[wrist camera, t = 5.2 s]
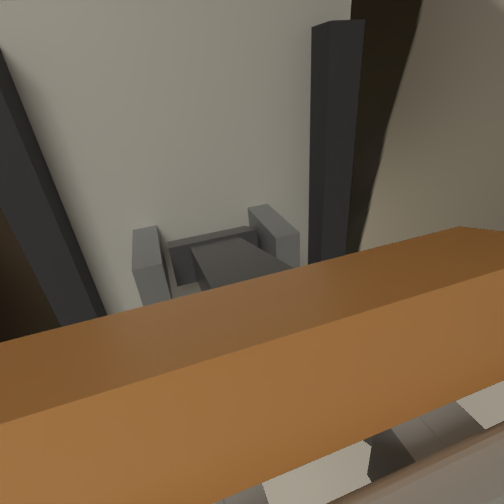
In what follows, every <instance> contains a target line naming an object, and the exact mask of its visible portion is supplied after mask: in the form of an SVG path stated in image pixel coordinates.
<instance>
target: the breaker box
mask: <svg viewBox="0 0 504 504" xmlns="http://www.w3.org/2000/svg"><path fill="white" fill-rule="evenodd" d="M350 15H351V0H0V49H1V52H2V54H3V57H4V59H5V62H6V64H7V67H8V69H9V72H10V74H11V77H12V79H13V82H14V84H15V87H16V89H17V92H18V94H19V97H20V99H21V102H22V104H23V107H24V109H25V111H26V114H27V116H28V119H29V121H30V124H31V126H32V129H33V131H34V134H35V136H36V139H37V141H38V144H39V146H40V149H41V151H42V154H43V156H44V159H45V161H46V164H47V166H48V169H49V171H50V174H51V176H52V179H53V181H54V184H55V186H56V189H57V191H58V194H59V196H60V199H61V201H62V204H63V206H64V209H65V211H66V214H67V216H68V218H69V221H70V223H71V226H72V228H73V231H74V233H75V236H76V238H77V241H78V243H79V246H80V248H81V251H82V253H83V256H84V258H85V261H86V263H87V266H88V268H89V271H90V273H91V276H92V278H93V281H94V283H95V286H96V288H97V291H98V293H99V296H100V298H101V301H102V303H103V306H104V308H105V311H106V313H107V315H111V314H115V313H119V312H123V311H127V310H131V309H135V308H139V307H143V306H147V305H151V304H155V303H159V302H163V301H167V300H171V299H174V298H178V297H182V296H186V295H190V294H194V293H198V292H202V291H201V289H200V286H199V284H198V282H194V283H190V284H186V285H182V286H178V287H177V283H176V279H175V274H174V270H173V266H172V262H171V257H170V253H169V249H168V242H169V241H174V240H179V239H184V238H188V237H193V236H198V235H203V234H208V233H212V232H217V231H222V230H227V229H232V228H236V227H241V226H248V227H251V228H253V229H256V233H257V239H258V246H259V248H260V249H262V250H263V251H265V252H267V253H268V254H270V255H272V256H274V257H275V258H277V259H279V260H281V261H282V262H284V263H286V264H288V265H289V266H291V267H293V268H297V267H301V266H305V265H308V219H309V155H310V91H311V27H313V26H316V25H319V24H322V23H325V22H328V21H332V20H350Z"/></svg>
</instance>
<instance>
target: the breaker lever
mask: <svg viewBox="0 0 504 504" xmlns="http://www.w3.org/2000/svg"><path fill="white" fill-rule="evenodd" d="M168 249H169V253H170V257H171V262H172V266H173V270H174V274H175V279H176V283H177V287H178V286H182V285H186V284H190V283H194V282H198V284H199V286H200V289H201V291H202V292H198V293H194V294H190V295H186V296H182V297H178V298H174V299H171V300H167V301H163V302H159V303H155V304H151V305H147V306H143V307H139V308H135V309H131V310H127V311H123V312H119V313H115V314H111V315H107V316H103V317H99V318H95V319H91V320H88V321H84V322H80V323H76V324H72V325H68V326H64V327H60V328H56V329H52V330H48V331H44V332H40V333H36V334H32V335H28V336H24V337H20V338H16V339H12V340H8V341H5V342H1V343H0V504H213V503H215V502H218V501H220V500H222V499H225V498H227V497H229V496H232V495H234V494H236V493H239V492H241V491H244V490H246V489H248V488H251V487H253V486H255V485H258V484H260V483H262V482H265V481H267V480H269V479H272V478H274V477H276V476H279V475H281V474H284V473H286V472H288V471H291V470H293V469H295V468H298V467H300V466H303V465H305V464H307V463H309V462H312V461H314V460H317V459H319V458H321V457H324V456H326V455H328V454H331V453H333V452H336V451H338V450H340V449H342V448H345V447H347V446H350V445H352V444H355V443H357V442H359V441H362V440H364V439H366V438H369V437H371V436H373V435H376V434H378V433H381V432H383V431H385V430H388V429H390V428H392V427H395V426H397V425H399V424H402V423H404V422H407V421H409V420H411V419H414V418H416V417H418V416H421V415H423V414H425V413H428V412H430V411H432V410H435V409H437V408H440V407H442V406H444V405H447V404H449V403H451V402H454V401H456V400H458V399H461V398H463V397H465V396H468V395H470V394H472V393H475V392H477V391H479V390H482V389H484V388H487V387H489V386H491V385H494V384H496V383H499V382H501V381H503V380H504V232H502V231H494V230H485V229H477V228H468V227H455V228H451V229H447V230H443V231H439V232H436V233H432V234H428V235H423V236H420V237H416V238H412V239H408V240H404V241H400V242H396V243H392V244H388V245H384V246H380V247H376V248H372V249H368V250H364V251H360V252H356V253H352V254H348V255H344V256H340V257H337V258H333V259H329V260H325V261H321V262H317V263H313V264H309V265H305V266H301V267H297V268H293V267H291V266H289V265H288V264H286V263H284V262H282V261H281V260H279V259H277V258H275V257H274V256H272V255H270V254H268V253H267V252H265V251H263V250H262V249H260V248H259V246H258V239H257V233H256V229H253V228H251V227H248V226H241V227H236V228H232V229H227V230H222V231H217V232H212V233H208V234H203V235H198V236H193V237H188V238H184V239H179V240H174V241H169V242H168Z"/></svg>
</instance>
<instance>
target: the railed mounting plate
mask: <svg viewBox="0 0 504 504" xmlns="http://www.w3.org/2000/svg"><path fill="white" fill-rule="evenodd" d="M364 27H365V19H355V20H332V21H328V22H325V23H322V24H319V25H316V26H313V27H311V91H310V155H309V219H308V265H309V264H313V263H317V262H321V261H325V260H329V259H333V258H337V257H340V256H344V255H345V251H346V239H347V227H348V216H349V204H350V192H351V180H352V168H353V157H354V145H355V133H356V121H357V109H358V98H359V86H360V74H361V62H362V50H363V39H364ZM0 208H1V210H2V212H3V213H4V215H5V217H6V219H7V221H8V223H9V225H10V227H11V229H12V231H13V233H14V235H15V237H16V239H17V241H18V243H19V245H20V247H21V249H22V251H23V253H24V255H25V257H26V259H27V261H28V262H29V264H30V266H31V268H32V270H33V272H34V274H35V276H36V278H37V280H38V282H39V284H40V286H41V288H42V290H43V292H44V294H45V296H46V298H47V300H48V302H49V304H50V306H51V308H52V309H53V311H54V313H55V315H56V317H57V319H58V321H59V323H60V325H61V327H64V326H68V325H72V324H76V323H80V322H84V321H88V320H91V319H95V318H99V317H103V316H107V313H106V311H105V308H104V306H103V303H102V301H101V298H100V296H99V293H98V291H97V288H96V286H95V283H94V281H93V278H92V276H91V273H90V271H89V268H88V266H87V263H86V261H85V258H84V256H83V253H82V251H81V248H80V246H79V243H78V241H77V238H76V236H75V233H74V231H73V228H72V226H71V223H70V221H69V218H68V216H67V214H66V211H65V209H64V206H63V204H62V201H61V199H60V196H59V194H58V191H57V189H56V186H55V184H54V181H53V179H52V176H51V174H50V171H49V169H48V166H47V164H46V161H45V159H44V156H43V154H42V151H41V149H40V146H39V144H38V141H37V139H36V136H35V134H34V131H33V129H32V126H31V124H30V121H29V119H28V116H27V114H26V111H25V109H24V107H23V104H22V102H21V99H20V97H19V94H18V92H17V89H16V87H15V84H14V82H13V79H12V77H11V74H10V72H9V69H8V67H7V64H6V62H5V59H4V57H3V54H2V52H1V49H0Z"/></svg>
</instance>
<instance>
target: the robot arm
mask: <svg viewBox="0 0 504 504" xmlns="http://www.w3.org/2000/svg"><path fill="white" fill-rule="evenodd" d="M364 441H365V442H367V443H368V444H369V445H370V446H372V448H371V454H370V460H369V466H368V473H367V475H368V477H369V478H370V480H371V482H372V483H370V484H368V485H366V486H363V487H361V488H359V489H357V490H355V491H353V492H350V493H348V494H346V495H344V496H342V497H340V498H338V499H335V500H333V501H331V502H329V503H327V504H504V421H503V422H501V423H499V424H496V425H494V426H492V427H490V428H488V429H486V430H485V429H484V428H483V427H482V426H481V425H480V424H479V423H478V422H477V421H476V420H475V419H474V418H472V416H470V415H469V414H468V413H467V412H466V411H465V410H464V409H463V408H462V407H461V406H460V405H459V404H458V403H457V402H456V401H454V402H451V403H449V404H447V405H444V406H442V407H440V408H437V409H435V410H432V411H430V412H428V413H425V414H423V415H421V416H418V417H416V418H414V419H411V420H409V421H407V422H404V423H402V424H399V425H397V426H395V427H392V428H390V429H388V430H385V431H383V432H381V433H378V434H376V435H373V436H371V437H369V438H366V439H364ZM213 504H268V501H267V497H266V494H265V491H264V489H263V486H262V483H260V484H258V485H255V486H253V487H251V488H248V489H246V490H244V491H241V492H239V493H236V494H234V495H232V496H229V497H227V498H225V499H222V500H220V501H218V502H215V503H213Z"/></svg>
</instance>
